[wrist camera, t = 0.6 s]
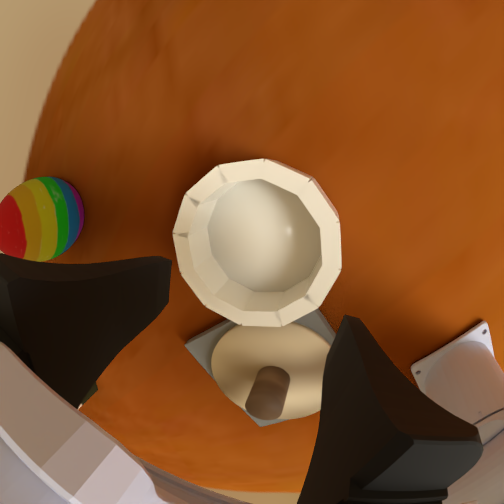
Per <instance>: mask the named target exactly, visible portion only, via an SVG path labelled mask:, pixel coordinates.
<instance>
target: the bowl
mask: <svg viewBox="0 0 504 504" xmlns="http://www.w3.org/2000/svg"><path fill="white" fill-rule="evenodd" d="M312 178H313V177H312V176H310V175H307V174H305V173H303V172H301V171H299V170H297V169H294V168H292V167H290V166H288V165H285V164H283V163H281V162H279V161H276V160H270V159H256V160H248V161H241V162H234V163H227V164H221V165H219V166H216V167H215V168H214V169H212V170H211V171H210V172H209V173H208V174H207V175H205V176H204V177H203V178H202V179H201V180H200V181H199V182H197V183H196V184H195V185H194V186H193V187H192V188H191V189H189V190H188V191H187V192H186V194H185V195H184V198H183V201H182V204H181V207H180V210H179V213H178V217H177V220H176V223H175V226H174V229H173V233H174V234H173V239H174V244H175V250H176V255H177V260H178V265H179V270H180V272H183V273H182V274H181V275H182V277H183V278H184V279H185V281H186V282H187V283H188V285H189V286H190V287H191V289H192V290H193V291H194V293H195V294H196V295H197V297H198V298H199V299H200V301H201V302H202V303H203V305H206V304H207V305H206V307H207V308H209V309H211V310H212V311H214V312H216V313H218V314H220V315H222V316H224V317H226V318H227V319H229V320H231V321H233V322H235V323H237V324H239V325H241V323H242V326H267V327H281V326H285V325H287V324H289V323H291V322H293V321H295V320H297V319H298V318H300V317H302V316H304V315H306V314H308V313H310V312H312V311H314V310H316V309H317V308H318V306H319V307H320V305H321V304H322V302H323V300H324V299H325V297H326V295H327V294H328V292H329V290H330V289H331V287H332V285H333V284H334V282H335V280H336V278H337V277H338V275H339V273H340V272H341V269H342V266H341V236H340V221H339V216H338V212H337V211H336V209H335V208H334V206H333V205H332V203H331V202H330V200H329V199H328V197H327V196H326V194H325V193H324V191H323V190H322V188H321V187H320V186H319V184H318V183H317V181H316V180H315V179H313V180H312Z"/></svg>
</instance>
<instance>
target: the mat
mask: <svg viewBox="0 0 504 504" xmlns="http://www.w3.org/2000/svg"><path fill="white" fill-rule="evenodd" d="M293 322H297V323H299V324H302V325H304V326H307V327H308V328H310V329H312V330H314V331H315V332H317V333H318V334H320V335H321V336H322V337H323V338H324V339H325V340H326V341H328V343H329V344H330V345H332V343H333V341H334V339H335V336H336V334H335V332H334V331H333V329H332V328H331V326H330V325H329V323H328V322H327V320H326V319H325V317H324V316H323V314H322V313H321V312H320V310H319V309H318V308H317V309H316V310H314V311H312V312H310V313H308V314H306V315H304V316H302V317H300V318H298V319H297V320H295V321H293ZM236 325H237V323H235V322H233V321H231V320H229V319H227V320H225V321H223V322H221V323H219V324H218V325H216V326H214V327H212V328H210V329H208V330H206V331H204V332H203V333H201V334H199V335H197V336H195V337H193V338H191V339H189V340H188V341H187V343H186V344H185V347H186V348H187V349H188V350H189V351H190V353H191V354H192V355H193V356H194V357H195V358H196V360H197V361H198V362H199V363H200V364H201V365H202V367H203V368H204V369H205V370H206V371H207V372H208V373H209V374H210V376H211V377H212V378H213V379H214V376H213V373H212V367H211V359H212V354H213V351H214V349H215V347H216V345H217V343H218V342H219V340H220V339H221V338H222V336H223V335H224V334H225V333H226V332H227V331H228V330H229V329H231V328H232V327H234V326H236ZM214 380H215V379H214ZM242 409H243V408H242ZM243 410H244V411H245V412H246V413H247V414H248V415H249V416H250V417H251V418H252V419H253V420H254V421H255V422H256V423H257V424H258V425H259V426H260V427H262V426H266V425H270V424H274V423H278V422H281V421H285V420H289V419H274V420H261V419H258V418H255V417H253V416H252V415H250V414H249V413H248V412H247V410H245V409H243Z"/></svg>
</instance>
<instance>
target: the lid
mask: <svg viewBox="0 0 504 504" xmlns="http://www.w3.org/2000/svg"><path fill="white" fill-rule="evenodd" d="M330 347H331V345H330V344H329V343H328V341H326V340H325V339H324V338H323V337H322V336H321V335H320V334H318V333H317V332H315V331H314V330H312V329H310V328H308V327H307V326H304V325H302V324H299V323H297V322H291V323H289V324H287V325H285V326H281V327H267V326H242V323H241V325H239V324H237V325H236V326H234V327H232V328H231V329H229V330H228V331H227V332H226V333H225V334H224V335H223V336H222V338H221V339H220V340H219V342H218V343H217V345H216V347H215V349H214V351H213V354H212V359H211V367H212V373H213V376H214V379H215V381H216V383H217V384H218V386H219V387H220V389H221V390H222V391H223V393H224V394H225V395H226V396H227V397H228V398H229V399H230V400H231V401H233V402H234V403H235V404H237V405H238V406H240V407H241V408H243V409H245V410H247V412H248V413H249V414H250V415H252V416H253V417H255V418H258V419H261V420H274V419H295V418H301V417H305V416H308V415H311V414H313V413H315V412H317V411H319V410H321V396H322V381H323V373H324V367H325V362H326V357H327V354H328V352H329V350H330Z"/></svg>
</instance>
